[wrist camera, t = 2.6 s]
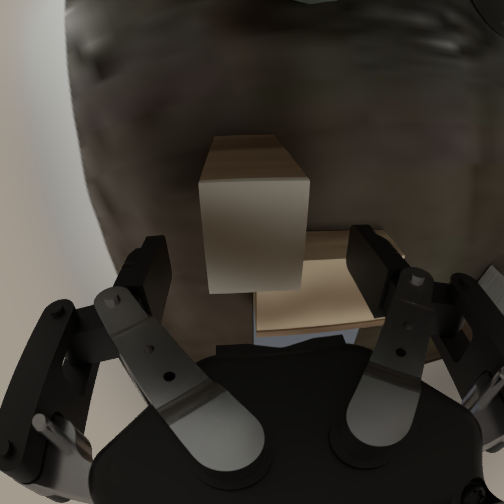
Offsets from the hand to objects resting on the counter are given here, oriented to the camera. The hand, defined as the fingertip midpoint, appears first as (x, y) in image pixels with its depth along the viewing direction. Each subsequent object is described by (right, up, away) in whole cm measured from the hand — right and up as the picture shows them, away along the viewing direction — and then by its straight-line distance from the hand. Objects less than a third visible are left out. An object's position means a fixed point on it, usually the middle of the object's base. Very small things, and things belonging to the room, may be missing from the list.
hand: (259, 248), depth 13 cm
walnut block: (-1, +6, +7) cm, 9 cm away
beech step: (+5, -1, +12) cm, 13 cm away
